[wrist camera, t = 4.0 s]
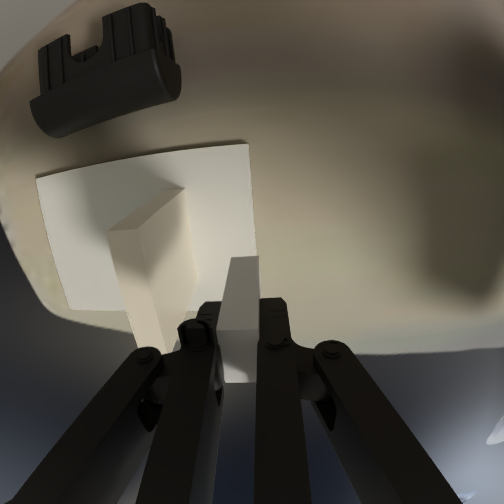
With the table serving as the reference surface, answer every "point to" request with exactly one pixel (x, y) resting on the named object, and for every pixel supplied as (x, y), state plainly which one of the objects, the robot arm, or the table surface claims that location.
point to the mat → (135, 195)
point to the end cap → (107, 73)
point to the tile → (155, 267)
